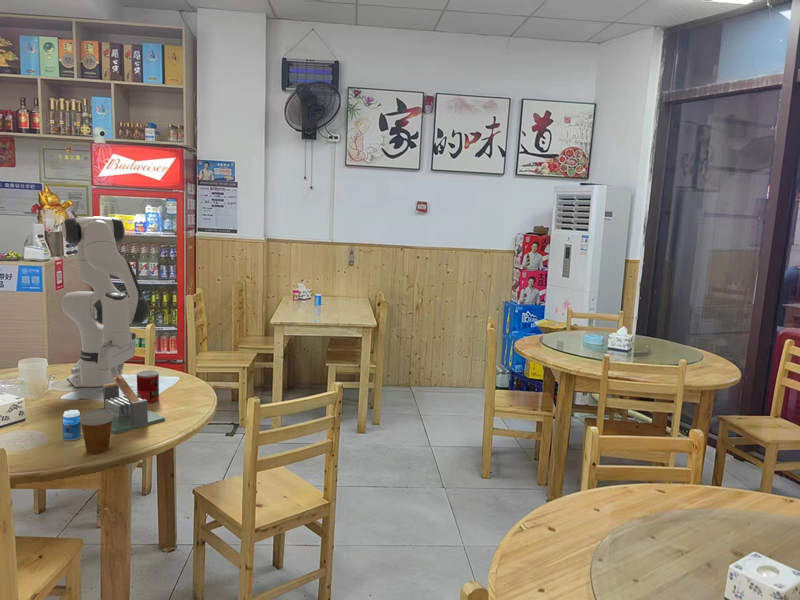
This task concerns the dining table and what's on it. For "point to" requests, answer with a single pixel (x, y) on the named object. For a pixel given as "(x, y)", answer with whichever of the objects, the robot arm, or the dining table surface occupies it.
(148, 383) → the canned food
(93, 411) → the disposable coffee cup
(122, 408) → the heatsink
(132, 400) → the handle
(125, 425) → the board
